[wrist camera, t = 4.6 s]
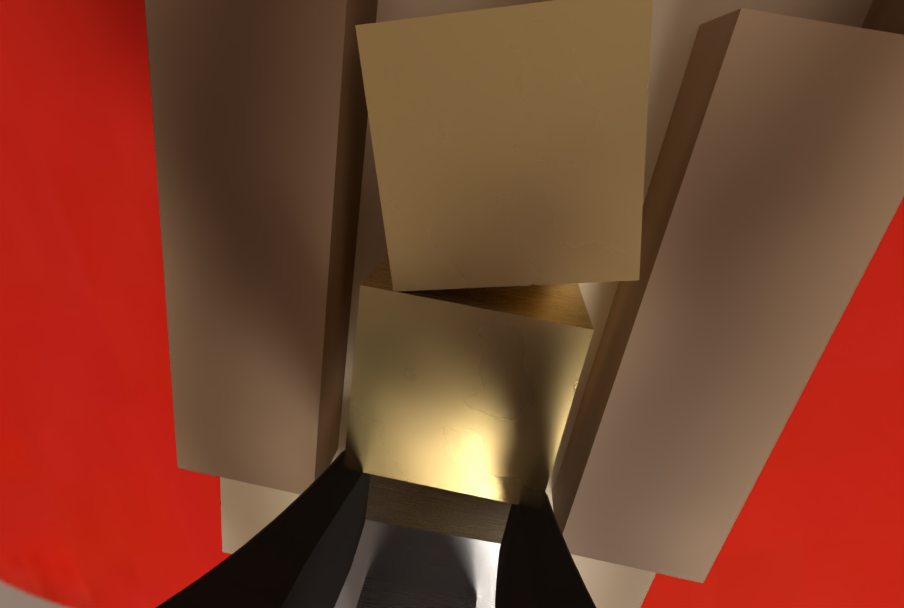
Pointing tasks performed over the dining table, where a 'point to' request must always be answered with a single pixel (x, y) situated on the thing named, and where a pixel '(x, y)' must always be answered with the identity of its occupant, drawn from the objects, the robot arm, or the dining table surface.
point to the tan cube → (465, 384)
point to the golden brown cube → (511, 142)
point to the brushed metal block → (425, 549)
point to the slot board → (608, 303)
